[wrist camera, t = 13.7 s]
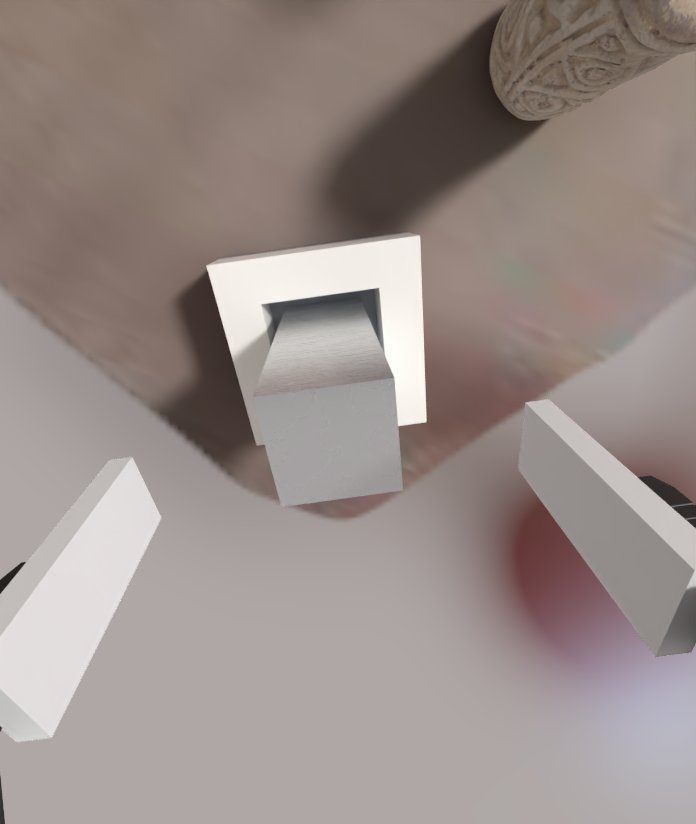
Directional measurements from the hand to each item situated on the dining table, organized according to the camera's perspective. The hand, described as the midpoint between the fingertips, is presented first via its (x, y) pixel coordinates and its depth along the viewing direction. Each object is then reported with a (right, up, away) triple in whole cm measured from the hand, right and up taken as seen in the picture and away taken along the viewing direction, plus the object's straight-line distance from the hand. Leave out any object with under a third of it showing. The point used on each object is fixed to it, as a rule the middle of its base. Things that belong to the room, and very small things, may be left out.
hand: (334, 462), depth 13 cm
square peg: (-1, +7, +14) cm, 15 cm away
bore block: (-1, +7, +15) cm, 16 cm away
